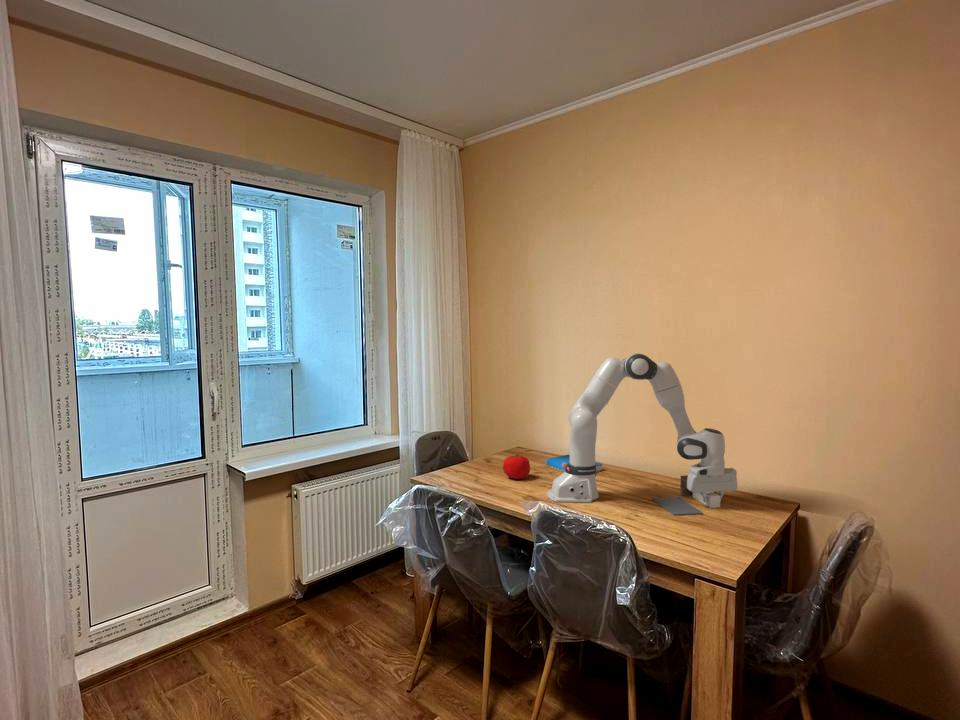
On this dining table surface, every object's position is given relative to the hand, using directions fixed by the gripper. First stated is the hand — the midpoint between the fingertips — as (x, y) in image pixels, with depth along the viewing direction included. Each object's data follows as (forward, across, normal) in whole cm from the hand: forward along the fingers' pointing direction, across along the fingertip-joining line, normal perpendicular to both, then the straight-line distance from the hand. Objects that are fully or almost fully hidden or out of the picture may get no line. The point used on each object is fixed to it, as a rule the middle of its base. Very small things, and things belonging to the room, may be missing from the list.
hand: (711, 501), depth 204 cm
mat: (+2, +15, 0) cm, 15 cm away
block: (+2, 0, -4) cm, 5 cm away
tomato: (+2, +73, -48) cm, 88 cm away
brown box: (+2, 0, -10) cm, 10 cm away
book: (+2, +40, -63) cm, 75 cm away
